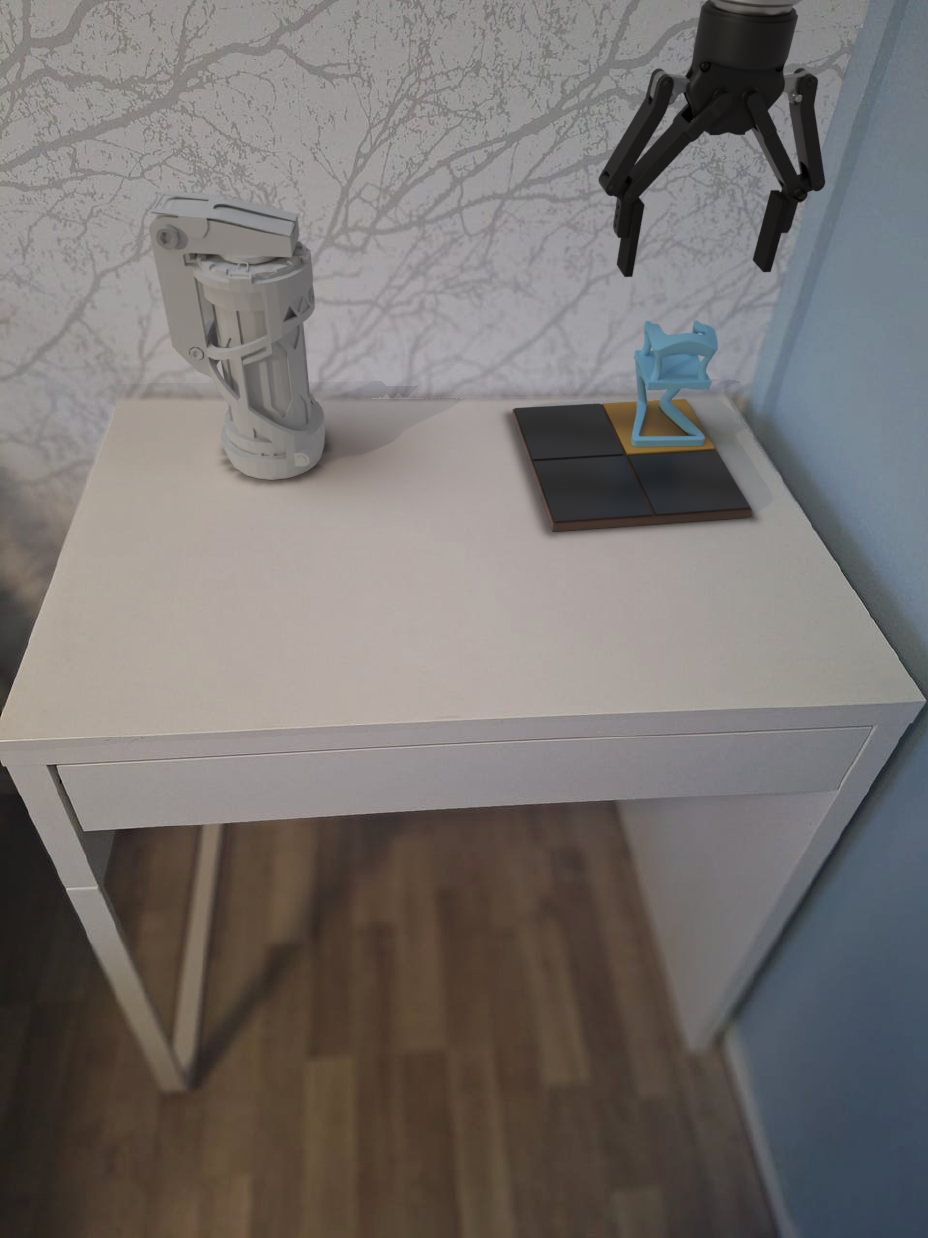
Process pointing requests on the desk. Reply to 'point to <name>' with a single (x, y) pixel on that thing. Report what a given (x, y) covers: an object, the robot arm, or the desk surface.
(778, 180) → the robot arm
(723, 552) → the desk surface
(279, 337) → the grey tall piece
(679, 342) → the chair
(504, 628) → the desk surface
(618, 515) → the board
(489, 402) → the desk surface
